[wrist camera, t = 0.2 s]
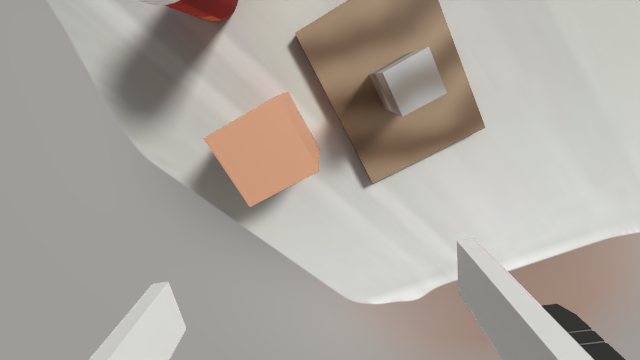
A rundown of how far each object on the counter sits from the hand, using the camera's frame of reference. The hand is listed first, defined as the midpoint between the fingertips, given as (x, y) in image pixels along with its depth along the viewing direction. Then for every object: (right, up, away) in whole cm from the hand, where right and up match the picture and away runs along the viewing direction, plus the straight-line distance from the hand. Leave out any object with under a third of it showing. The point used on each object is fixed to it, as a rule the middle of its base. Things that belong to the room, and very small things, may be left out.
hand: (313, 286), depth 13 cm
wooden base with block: (+9, +17, +22) cm, 29 cm away
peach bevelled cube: (-5, +10, +24) cm, 27 cm away
